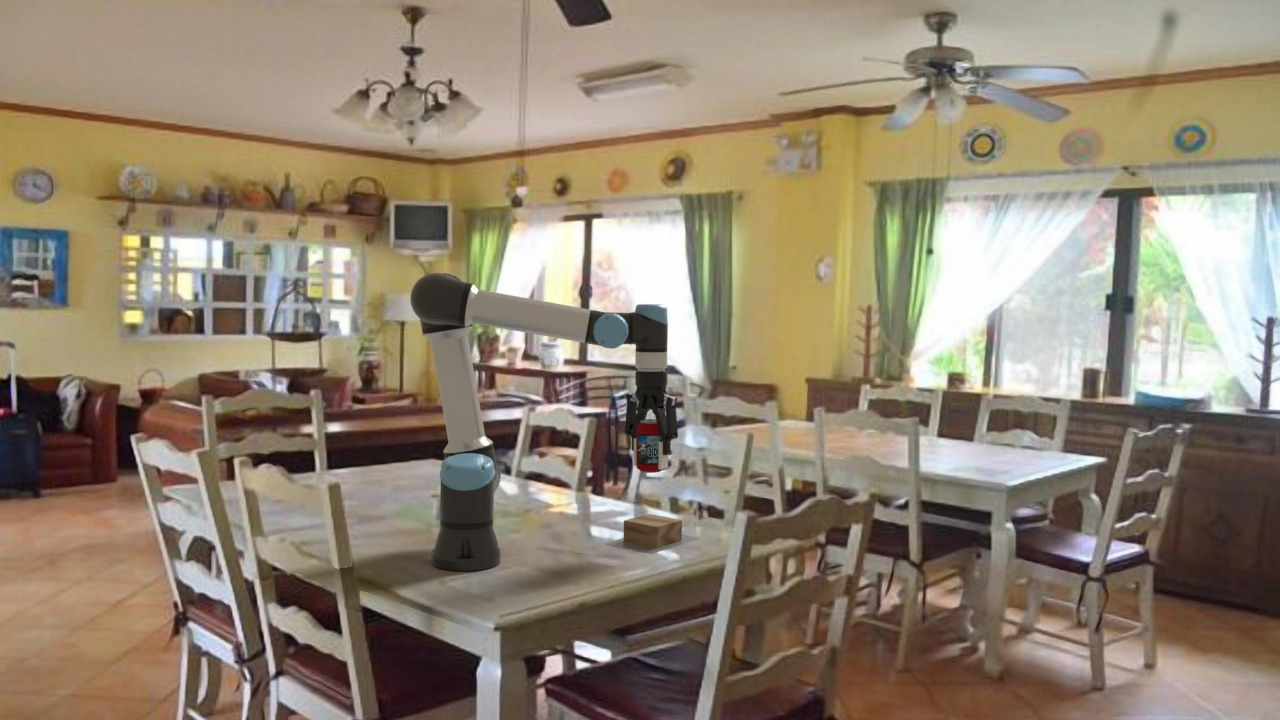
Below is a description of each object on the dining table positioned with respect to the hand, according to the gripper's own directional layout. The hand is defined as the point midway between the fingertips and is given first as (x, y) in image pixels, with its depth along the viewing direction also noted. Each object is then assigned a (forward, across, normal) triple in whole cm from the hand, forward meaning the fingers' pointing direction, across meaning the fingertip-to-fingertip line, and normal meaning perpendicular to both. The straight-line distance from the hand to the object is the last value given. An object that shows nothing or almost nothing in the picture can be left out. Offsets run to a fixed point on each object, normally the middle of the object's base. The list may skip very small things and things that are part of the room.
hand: (650, 466), depth 240 cm
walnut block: (+19, +1, -3) cm, 19 cm away
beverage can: (+1, 0, 0) cm, 1 cm away
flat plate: (+20, +1, -3) cm, 20 cm away
